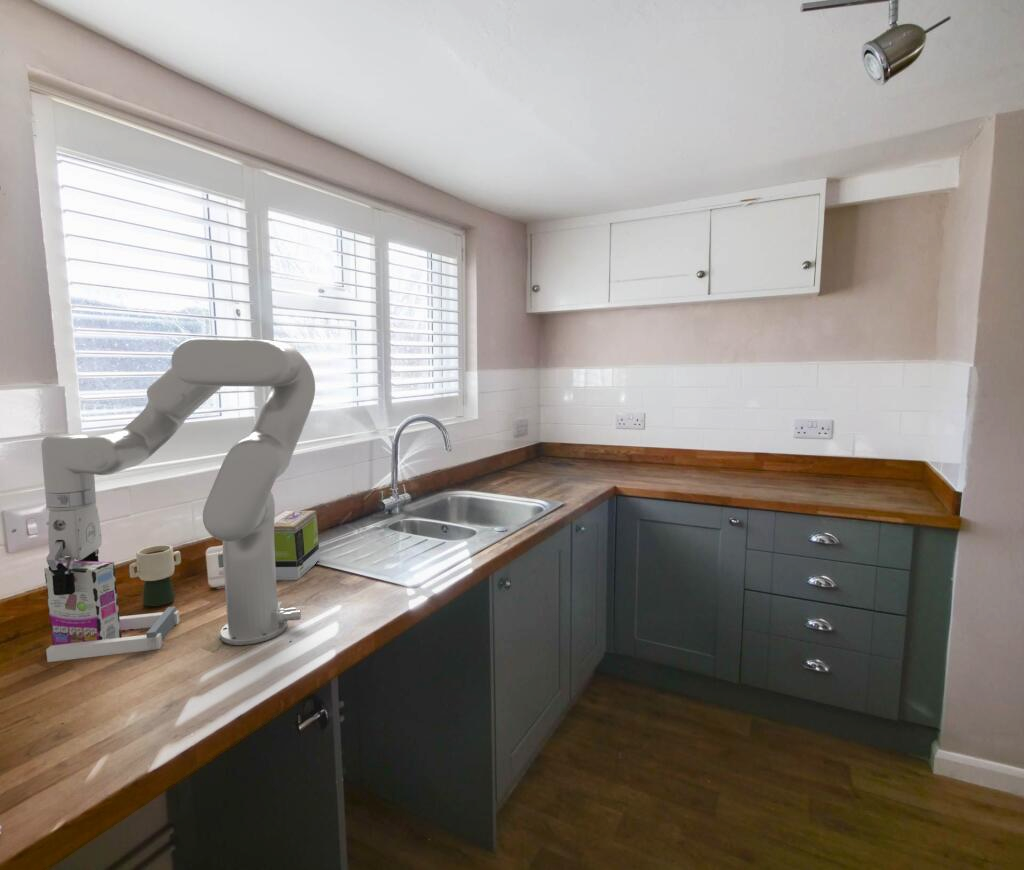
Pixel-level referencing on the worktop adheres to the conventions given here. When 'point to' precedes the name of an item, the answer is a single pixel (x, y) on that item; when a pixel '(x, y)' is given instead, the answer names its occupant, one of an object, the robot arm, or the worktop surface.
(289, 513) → the tea box
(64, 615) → the candy bar box
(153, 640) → the channel
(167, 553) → the character mug
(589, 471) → the worktop surface
